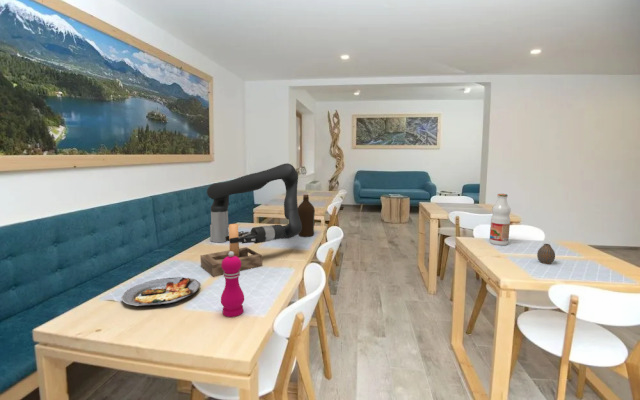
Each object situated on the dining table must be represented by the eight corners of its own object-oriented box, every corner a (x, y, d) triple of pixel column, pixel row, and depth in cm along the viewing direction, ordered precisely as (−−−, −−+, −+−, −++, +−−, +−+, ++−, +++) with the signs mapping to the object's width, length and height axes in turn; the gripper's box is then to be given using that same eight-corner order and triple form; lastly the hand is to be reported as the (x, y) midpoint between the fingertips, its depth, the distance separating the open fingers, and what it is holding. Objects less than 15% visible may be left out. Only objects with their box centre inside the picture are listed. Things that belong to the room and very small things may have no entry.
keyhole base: (246, 257, 163) (246, 247, 162) (262, 266, 151) (261, 255, 150) (200, 266, 150) (200, 255, 149) (213, 276, 137) (213, 265, 137)
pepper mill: (223, 307, 110) (221, 248, 108) (246, 306, 111) (244, 247, 108) (219, 318, 103) (216, 255, 100) (243, 317, 104) (241, 254, 101)
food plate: (204, 279, 134) (203, 271, 134) (195, 306, 112) (194, 296, 111) (135, 286, 129) (134, 277, 129) (112, 315, 107) (111, 305, 106)
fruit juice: (510, 246, 184) (514, 195, 180) (491, 245, 187) (495, 194, 183) (505, 241, 193) (509, 193, 189) (487, 240, 196) (491, 192, 192)
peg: (223, 266, 147) (221, 226, 145) (228, 260, 155) (227, 222, 153) (241, 267, 147) (239, 226, 144) (246, 261, 155) (244, 222, 152)
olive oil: (300, 237, 200) (300, 196, 197) (295, 233, 210) (295, 194, 207) (317, 236, 204) (317, 195, 201) (311, 232, 214) (311, 193, 211)
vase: (552, 261, 159) (554, 243, 157) (555, 265, 152) (557, 247, 151) (535, 259, 162) (537, 241, 160) (537, 263, 155) (539, 245, 154)
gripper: (255, 223, 163) (221, 228, 153) (270, 229, 152) (234, 234, 142) (256, 238, 164) (222, 244, 154) (270, 245, 153) (234, 252, 143)
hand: (228, 240), depth 148 cm, fingers closed on peg, 4 cm apart
